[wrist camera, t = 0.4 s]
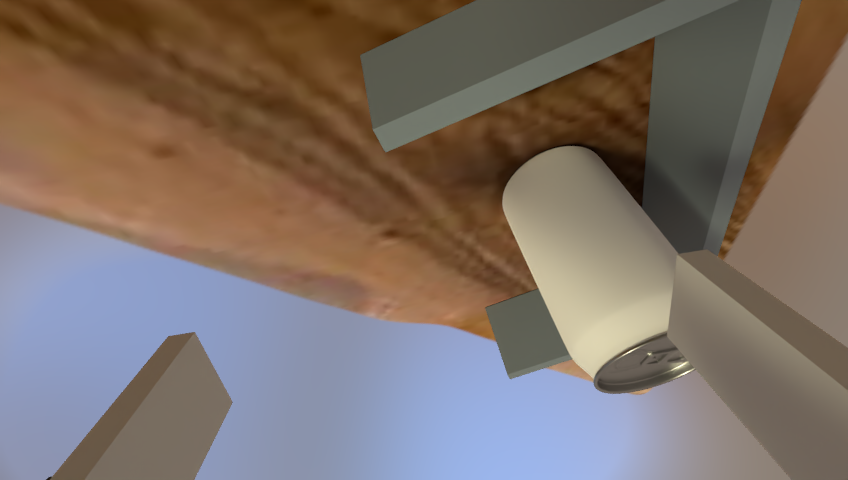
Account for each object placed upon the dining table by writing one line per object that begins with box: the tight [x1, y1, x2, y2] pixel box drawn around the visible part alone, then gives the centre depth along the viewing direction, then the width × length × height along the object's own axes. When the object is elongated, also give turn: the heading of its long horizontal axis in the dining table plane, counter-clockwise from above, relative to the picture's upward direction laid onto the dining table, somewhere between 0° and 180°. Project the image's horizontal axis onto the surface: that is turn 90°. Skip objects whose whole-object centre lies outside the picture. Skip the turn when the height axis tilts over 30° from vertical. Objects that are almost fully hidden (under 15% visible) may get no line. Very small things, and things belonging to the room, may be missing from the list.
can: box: [502, 146, 696, 394], centre depth 21 cm, size 6×6×12 cm
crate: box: [360, 0, 802, 379], centre depth 23 cm, size 14×24×6 cm, turn 20°
